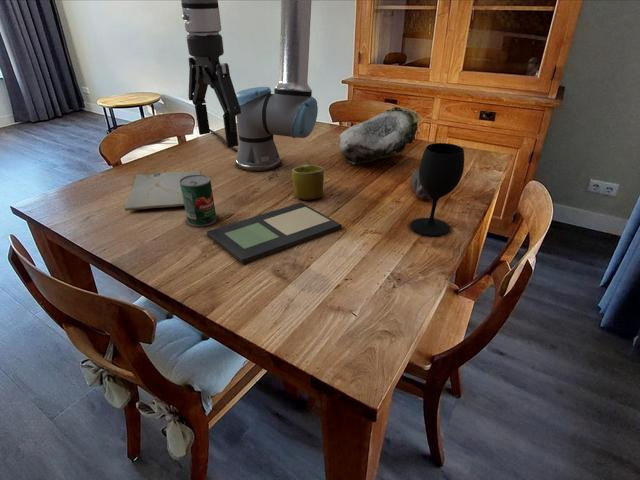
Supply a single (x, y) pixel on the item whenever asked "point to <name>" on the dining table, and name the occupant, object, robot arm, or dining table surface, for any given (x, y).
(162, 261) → the dining table surface
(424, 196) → the perforated stone tool
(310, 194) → the mug
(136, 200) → the decorative slab
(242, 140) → the robot arm
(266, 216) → the black board
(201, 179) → the canned tomato
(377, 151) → the stone basin
